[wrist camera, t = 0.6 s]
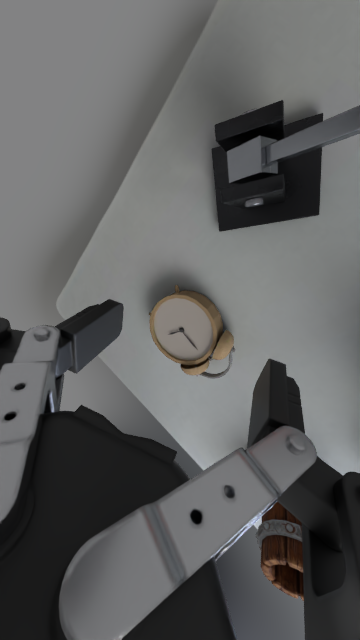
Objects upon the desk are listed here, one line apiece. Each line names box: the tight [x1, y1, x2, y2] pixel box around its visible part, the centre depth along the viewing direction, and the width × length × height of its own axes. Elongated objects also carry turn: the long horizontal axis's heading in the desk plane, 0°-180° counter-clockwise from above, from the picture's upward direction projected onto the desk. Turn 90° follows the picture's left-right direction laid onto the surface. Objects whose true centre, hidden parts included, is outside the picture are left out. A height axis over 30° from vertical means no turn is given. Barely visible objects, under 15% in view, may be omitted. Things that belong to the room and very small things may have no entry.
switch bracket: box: [212, 100, 323, 231], centre depth 22 cm, size 11×9×13 cm
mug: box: [256, 501, 304, 601], centre depth 36 cm, size 12×14×15 cm
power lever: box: [227, 105, 360, 184], centre depth 14 cm, size 13×6×2 cm, turn 100°
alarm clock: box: [149, 285, 235, 378], centre depth 36 cm, size 11×5×15 cm
